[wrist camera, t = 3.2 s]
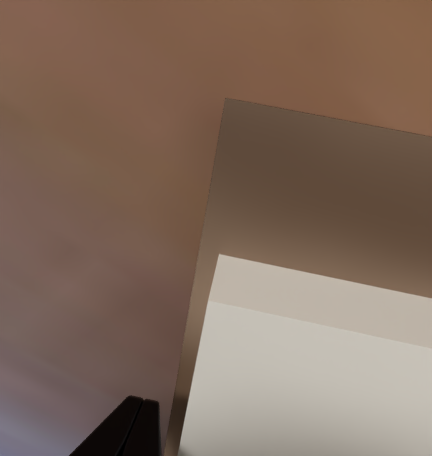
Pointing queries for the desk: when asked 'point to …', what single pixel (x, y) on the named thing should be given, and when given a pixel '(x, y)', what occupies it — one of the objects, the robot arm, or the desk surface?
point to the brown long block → (310, 210)
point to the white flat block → (309, 367)
